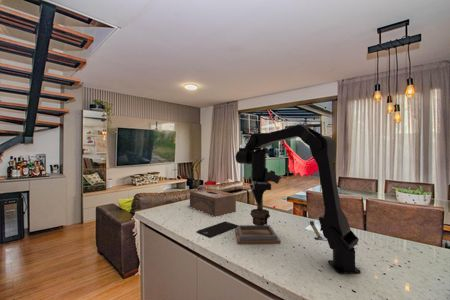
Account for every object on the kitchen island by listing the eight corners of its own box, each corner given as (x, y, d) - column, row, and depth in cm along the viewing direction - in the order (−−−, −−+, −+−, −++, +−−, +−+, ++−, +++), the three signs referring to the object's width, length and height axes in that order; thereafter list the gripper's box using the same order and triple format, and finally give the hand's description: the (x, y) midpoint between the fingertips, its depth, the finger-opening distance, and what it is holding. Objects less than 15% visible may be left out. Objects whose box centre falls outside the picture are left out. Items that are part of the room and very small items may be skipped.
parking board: (280, 243, 82) (280, 241, 82) (237, 244, 81) (237, 241, 81) (271, 229, 96) (271, 227, 96) (234, 230, 95) (234, 228, 95)
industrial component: (272, 223, 89) (273, 194, 89) (264, 229, 83) (264, 197, 83) (252, 219, 94) (252, 191, 94) (243, 223, 89) (243, 194, 88)
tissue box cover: (189, 207, 134) (189, 191, 134) (209, 203, 144) (208, 188, 143) (215, 217, 114) (215, 198, 114) (235, 212, 124) (235, 194, 124)
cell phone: (196, 233, 93) (196, 231, 93) (225, 223, 106) (225, 221, 106) (209, 239, 87) (209, 236, 87) (239, 227, 100) (239, 225, 100)
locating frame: (277, 240, 83) (277, 236, 83) (240, 240, 82) (240, 236, 82) (269, 228, 95) (269, 225, 95) (237, 228, 94) (237, 225, 94)
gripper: (285, 167, 79) (285, 210, 79) (272, 163, 97) (272, 198, 98) (254, 167, 79) (254, 210, 79) (247, 163, 97) (247, 198, 97)
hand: (258, 203), depth 88 cm, fingers closed on industrial component, 2 cm apart
